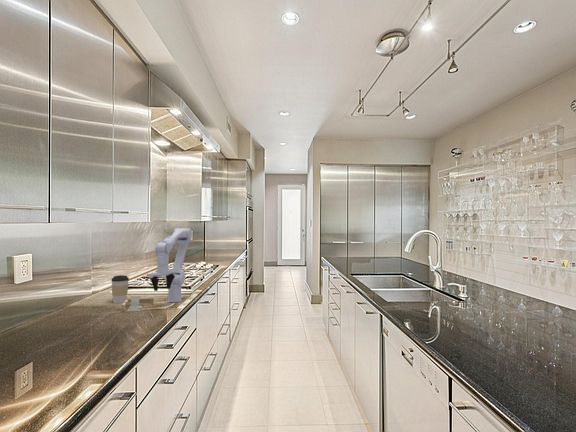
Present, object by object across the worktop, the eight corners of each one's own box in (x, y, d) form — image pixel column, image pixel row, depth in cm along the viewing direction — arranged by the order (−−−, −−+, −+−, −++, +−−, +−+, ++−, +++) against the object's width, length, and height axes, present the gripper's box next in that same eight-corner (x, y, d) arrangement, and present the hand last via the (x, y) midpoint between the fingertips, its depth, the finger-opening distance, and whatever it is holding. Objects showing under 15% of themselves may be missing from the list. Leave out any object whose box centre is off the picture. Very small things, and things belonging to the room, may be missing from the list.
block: (131, 307, 175) (131, 296, 175) (139, 306, 176) (139, 295, 176) (129, 310, 168) (129, 299, 168) (138, 310, 169) (138, 298, 170)
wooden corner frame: (126, 305, 179) (126, 299, 179) (153, 304, 183) (153, 298, 183) (121, 312, 167) (121, 305, 167) (150, 310, 171) (151, 304, 171)
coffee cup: (111, 300, 189) (112, 274, 189) (128, 299, 193) (129, 273, 193) (110, 304, 181) (110, 277, 181) (128, 302, 185) (128, 276, 185)
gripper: (170, 262, 185) (169, 286, 185) (146, 265, 173) (145, 290, 173) (177, 263, 181) (177, 288, 181) (153, 266, 169) (153, 292, 169)
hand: (162, 289), depth 177 cm, fingers open, 7 cm apart
